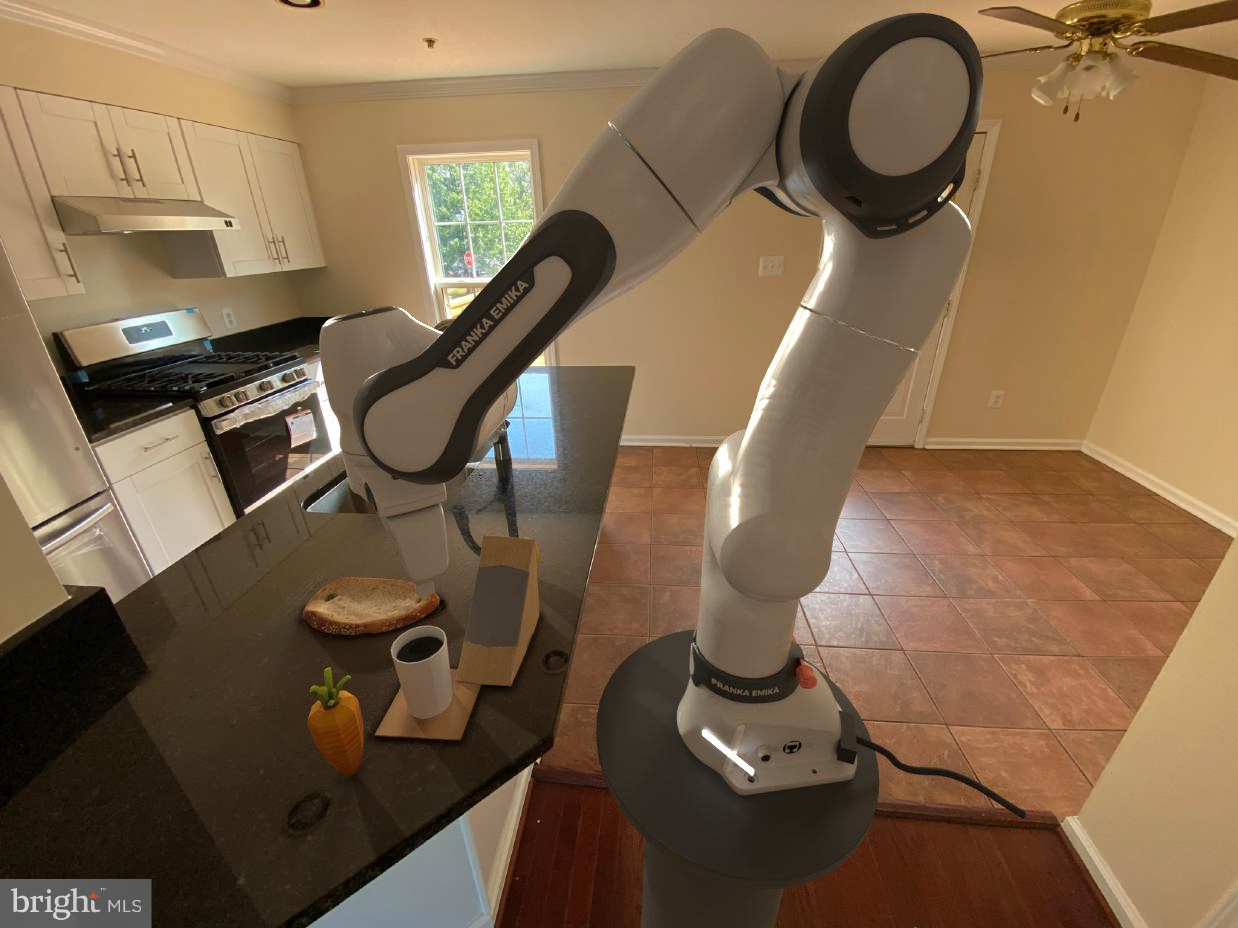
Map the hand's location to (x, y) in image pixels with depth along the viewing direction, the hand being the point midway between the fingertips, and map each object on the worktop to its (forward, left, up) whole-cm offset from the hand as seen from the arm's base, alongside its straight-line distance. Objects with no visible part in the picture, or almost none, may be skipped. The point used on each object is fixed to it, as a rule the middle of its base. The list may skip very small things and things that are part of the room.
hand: (414, 571), depth 59 cm
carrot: (+6, +10, -22) cm, 25 cm away
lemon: (-5, -29, -22) cm, 36 cm away
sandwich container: (-5, -11, -21) cm, 24 cm away
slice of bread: (+19, -18, -22) cm, 34 cm away
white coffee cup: (+1, 0, -21) cm, 21 cm away
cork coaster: (+1, 0, -21) cm, 21 cm away
